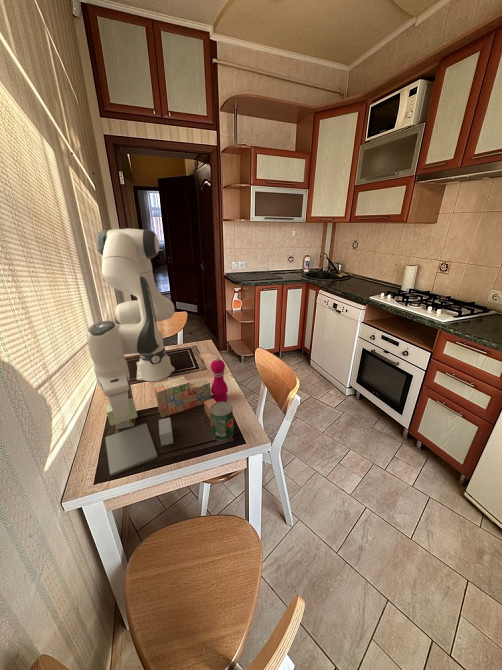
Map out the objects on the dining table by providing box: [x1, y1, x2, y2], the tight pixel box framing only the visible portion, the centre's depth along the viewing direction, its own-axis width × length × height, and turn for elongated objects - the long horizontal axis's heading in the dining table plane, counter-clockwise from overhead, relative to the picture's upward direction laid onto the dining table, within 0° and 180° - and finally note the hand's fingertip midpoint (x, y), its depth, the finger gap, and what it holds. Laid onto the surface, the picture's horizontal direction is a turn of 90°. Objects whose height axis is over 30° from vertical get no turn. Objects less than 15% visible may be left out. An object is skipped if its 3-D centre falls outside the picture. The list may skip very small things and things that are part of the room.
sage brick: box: [105, 397, 138, 426], centre depth 87 cm, size 4×8×5 cm, turn 120°
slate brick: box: [158, 417, 174, 447], centre depth 97 cm, size 4×8×5 cm, turn 19°
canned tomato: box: [210, 401, 235, 442], centre depth 97 cm, size 8×8×11 cm
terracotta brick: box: [203, 398, 217, 420], centre depth 107 cm, size 4×8×5 cm, turn 31°
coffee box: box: [115, 380, 136, 430], centre depth 103 cm, size 9×6×16 cm
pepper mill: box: [210, 356, 229, 402], centre depth 115 cm, size 7×7×20 cm
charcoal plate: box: [104, 423, 159, 477], centre depth 92 cm, size 18×14×1 cm
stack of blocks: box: [153, 375, 213, 418], centre depth 112 cm, size 21×6×12 cm, turn 119°
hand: (122, 412), depth 87 cm, fingers closed on sage brick, 4 cm apart
